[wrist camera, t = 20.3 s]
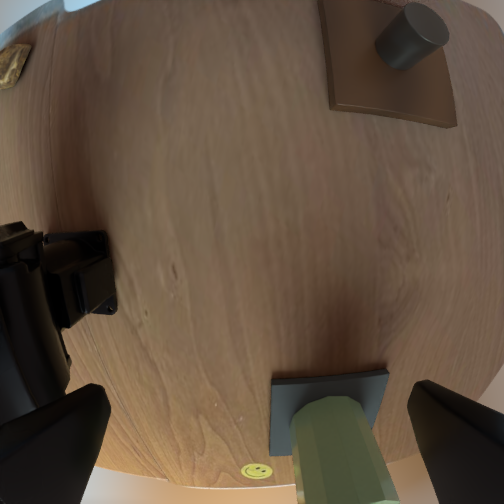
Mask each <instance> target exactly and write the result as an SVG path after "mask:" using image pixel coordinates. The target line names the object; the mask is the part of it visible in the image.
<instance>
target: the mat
mask: <svg viewBox="0 0 504 504" xmlns="http://www.w3.org/2000/svg"><path fill="white" fill-rule="evenodd" d="M388 378H389V372H388V370H387V369H381V370H375V371H368V372H360V373H352V374H343V375H334V376H322V377H309V378H293V379H272V380H271V415H270V445H269V456H288V455H292V447H291V439H290V431H289V427H290V424H291V421H292V418H293V415H294V414H296V413H297V412H298V411H299V410H300V409H302V408H303V407H304V406H305V405H306V404H308V403H310V402H313V401H316V400H319V399H322V398H325V397H328V396H348V397H350V398H351V399H353V400H355V401H357V402H359V403H360V404H361V407H362V409H363V411H364V413H365V416H366V418H367V420H368V423H369V425H370V428H371V430H372V428H373V425H374V422H375V419H376V416H377V414H378V411H379V408H380V404H381V401H382V398H383V395H384V391H385V388H386V385H387V381H388Z"/></svg>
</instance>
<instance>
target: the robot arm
mask: <svg viewBox="0 0 504 504" xmlns="http://www.w3.org/2000/svg"><path fill="white" fill-rule="evenodd" d="M100 234H101V236H102V240H101V239H100V238H99V235H100ZM48 238H49V241H48ZM42 241H43V242H44V246H43V242H42ZM115 292H116V288H115V282H114V275H113V267H112V260H111V259H110V255H109V246H108V236H107V233H106V232H105V231H104V230H91V231H75V232H60V233H48V234H45V235H44V237H43V231H39V232H34V230H29V229H27V227H26V226H25V225H24V223H23V222H22V221H19V222H13V223H9V224H5V225H0V504H80V502H81V500H82V497H83V494H84V491H85V489H86V486H87V483H88V481H89V478H90V475H91V473H92V470H93V468H94V465H95V463H96V460H97V458H98V455H99V452H100V449H101V446H102V442H103V438H104V435H105V431H106V428H107V424H108V421H109V417H110V414H111V405H110V402H109V400H108V397H107V394H106V392H105V389H104V387H103V386H101V385H98V384H93V383H90V384H87V385H85V386H83V387H81V388H79V389H77V390H75V391H73V392H71V393H69V394H67V395H66V393H65V390H66V388H67V385H68V383H69V381H70V366H71V363H72V361H71V358H70V355H69V354H67V350H66V347H65V344H64V341H63V338H62V334H61V332H62V331H63V330H65V329H66V328H68V329H69V328H71V327H72V326H73V325H75V324H76V323H77V322H78V321H79V320H81V319H82V318H83V317H84V316H85V315H87V314H90V313H94V314H105V315H113V314H115V313H116V312H117V302H116V296H115ZM109 306H111V307H112V309H113V310H111V309H110V307H109ZM407 409H408V413H409V416H410V419H411V423H412V426H413V430H414V433H415V437H416V441H417V444H418V447H419V450H420V453H421V455H422V458H423V460H424V463H425V466H426V468H427V471H428V474H429V476H430V479H431V482H432V484H433V487H434V489H435V493H436V496H437V498H438V501H439V504H504V414H502V413H500V412H498V411H495V410H493V409H491V408H489V407H486V406H484V405H482V404H480V403H477V402H475V401H473V400H471V399H469V398H466V397H464V396H462V395H460V394H458V393H456V392H453V391H451V390H449V389H447V388H445V387H443V386H441V385H438V384H436V383H434V382H432V381H430V380H422V381H418V382H416V383H415V384H414V386H413V389H412V392H411V395H410V397H409V400H408V404H407Z"/></svg>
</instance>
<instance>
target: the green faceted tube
mask: <svg viewBox="0 0 504 504" xmlns="http://www.w3.org/2000/svg"><path fill="white" fill-rule="evenodd" d="M289 431H290V439H291V447H292V456H293V465H294V474H295V483H296V491H297V501H298V504H400V500H399V497H398V494H397V492H396V489H395V486H394V484H393V481H392V479H391V476H390V474H389V471H388V469H387V466H386V464H385V461H384V459H383V456H382V454H381V451H380V449H379V447H378V444H377V442H376V439H375V437H374V435H373V432H372V430H371V428H370V425H369V423H368V420H367V418H366V416H365V413H364V411H363V409H362V407H361V404H360V403H359V402H357V401H355V400H353V399H351V398H350V397H348V396H328V397H325V398H322V399H319V400H316V401H313V402H310V403H308V404H306V405H305V406H304V407H303V408H302V409H300V410H299V411H298V412H297V413H296V414H294V415H293V418H292V421H291V424H290V427H289Z"/></svg>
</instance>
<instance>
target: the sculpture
mask: <svg viewBox="0 0 504 504" xmlns="http://www.w3.org/2000/svg"><path fill="white" fill-rule="evenodd" d="M30 49H31V46H30V45H29V44H15V45H11V46H9V47H6V48H4V49H3V50H2V51H0V89H6V88H10V87H14V85H15V83H16V82H17V80H18V78H19V75H20V72H21V69H22V67H23V64H24V62H25V60H26V58H27V55H28V53H29V51H30Z"/></svg>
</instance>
